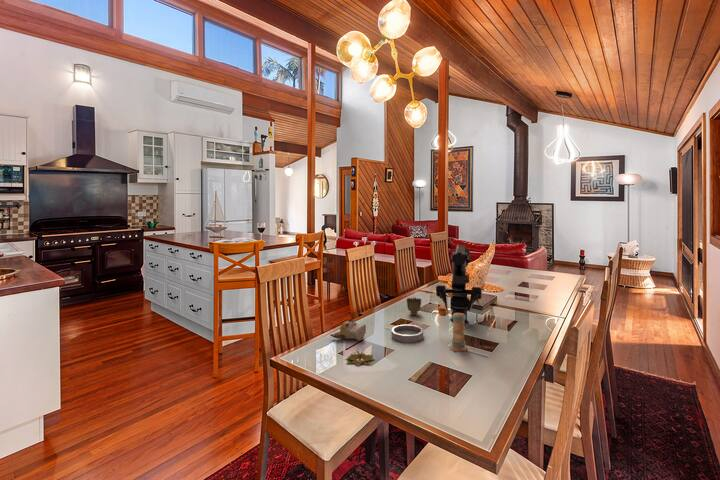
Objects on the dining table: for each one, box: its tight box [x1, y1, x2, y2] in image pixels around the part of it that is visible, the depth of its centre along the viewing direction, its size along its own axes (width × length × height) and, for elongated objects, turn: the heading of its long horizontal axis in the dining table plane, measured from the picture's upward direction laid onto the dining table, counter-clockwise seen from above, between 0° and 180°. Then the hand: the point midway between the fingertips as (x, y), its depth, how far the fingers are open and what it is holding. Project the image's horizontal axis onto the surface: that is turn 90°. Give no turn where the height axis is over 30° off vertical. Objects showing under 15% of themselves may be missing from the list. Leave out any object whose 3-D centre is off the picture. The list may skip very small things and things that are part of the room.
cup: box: [406, 297, 422, 316], centre depth 196 cm, size 8×7×8 cm
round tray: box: [390, 324, 424, 344], centre depth 166 cm, size 14×14×3 cm
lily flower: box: [345, 348, 375, 367], centre depth 144 cm, size 12×12×5 cm
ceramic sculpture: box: [329, 319, 367, 342], centre depth 165 cm, size 11×9×15 cm
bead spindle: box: [449, 313, 468, 353], centre depth 152 cm, size 6×6×14 cm
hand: (457, 309), depth 159 cm, fingers open, 9 cm apart
